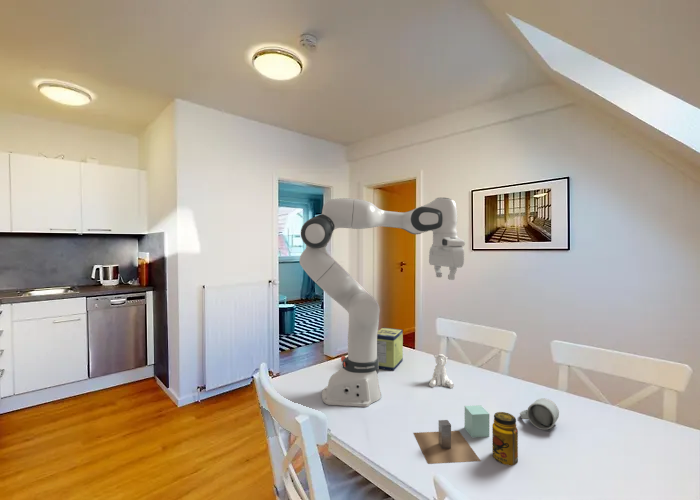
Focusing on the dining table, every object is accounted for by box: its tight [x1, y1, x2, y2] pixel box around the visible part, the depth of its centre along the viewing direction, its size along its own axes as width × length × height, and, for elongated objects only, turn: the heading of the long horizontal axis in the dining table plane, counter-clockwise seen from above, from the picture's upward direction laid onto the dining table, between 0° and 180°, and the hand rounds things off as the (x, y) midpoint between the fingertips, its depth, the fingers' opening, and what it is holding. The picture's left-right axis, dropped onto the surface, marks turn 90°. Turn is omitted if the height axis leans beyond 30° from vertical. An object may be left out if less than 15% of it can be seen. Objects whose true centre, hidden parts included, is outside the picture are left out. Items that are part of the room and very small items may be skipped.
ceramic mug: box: [519, 398, 560, 431], centre depth 106 cm, size 11×8×8 cm
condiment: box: [491, 411, 519, 466], centre depth 87 cm, size 7×8×12 cm
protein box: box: [377, 327, 404, 372], centre depth 158 cm, size 10×16×16 cm
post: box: [438, 419, 452, 449], centre depth 91 cm, size 3×3×6 cm
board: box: [413, 430, 482, 465], centre depth 91 cm, size 14×14×1 cm
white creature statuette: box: [428, 353, 455, 389], centre depth 135 cm, size 10×9×12 cm
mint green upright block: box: [464, 405, 490, 438], centre depth 98 cm, size 5×5×8 cm
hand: (444, 278), depth 123 cm, fingers open, 8 cm apart
